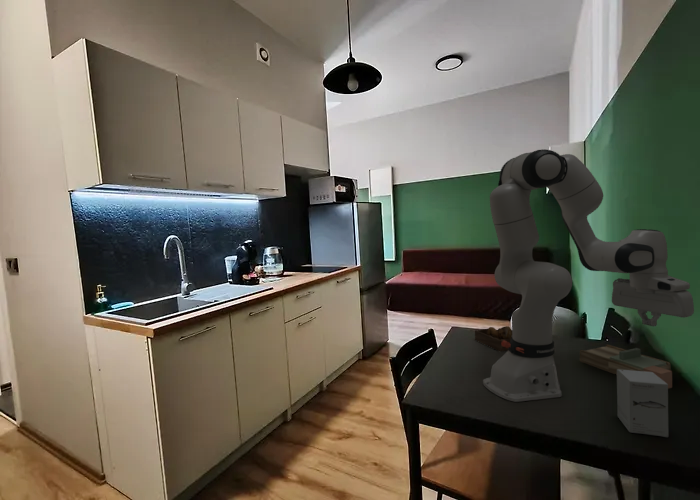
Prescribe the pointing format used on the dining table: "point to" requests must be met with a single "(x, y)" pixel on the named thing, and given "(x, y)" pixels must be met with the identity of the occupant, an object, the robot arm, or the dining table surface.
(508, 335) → the lion figurine
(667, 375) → the cube
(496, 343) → the lion stand
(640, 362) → the cover
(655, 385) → the supplement box
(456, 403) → the dining table surface
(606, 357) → the wooden box
